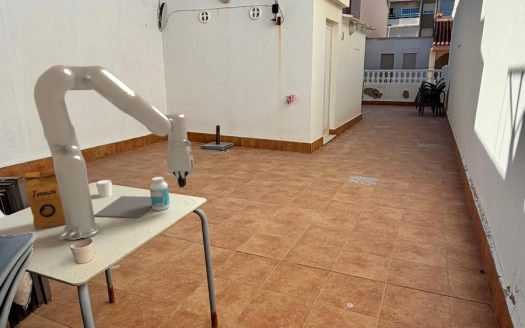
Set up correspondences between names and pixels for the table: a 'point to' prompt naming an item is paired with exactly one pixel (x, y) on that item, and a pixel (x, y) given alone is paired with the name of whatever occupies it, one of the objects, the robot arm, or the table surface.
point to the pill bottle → (159, 194)
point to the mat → (126, 207)
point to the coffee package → (44, 199)
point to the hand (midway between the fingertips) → (182, 186)
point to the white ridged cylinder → (104, 188)
